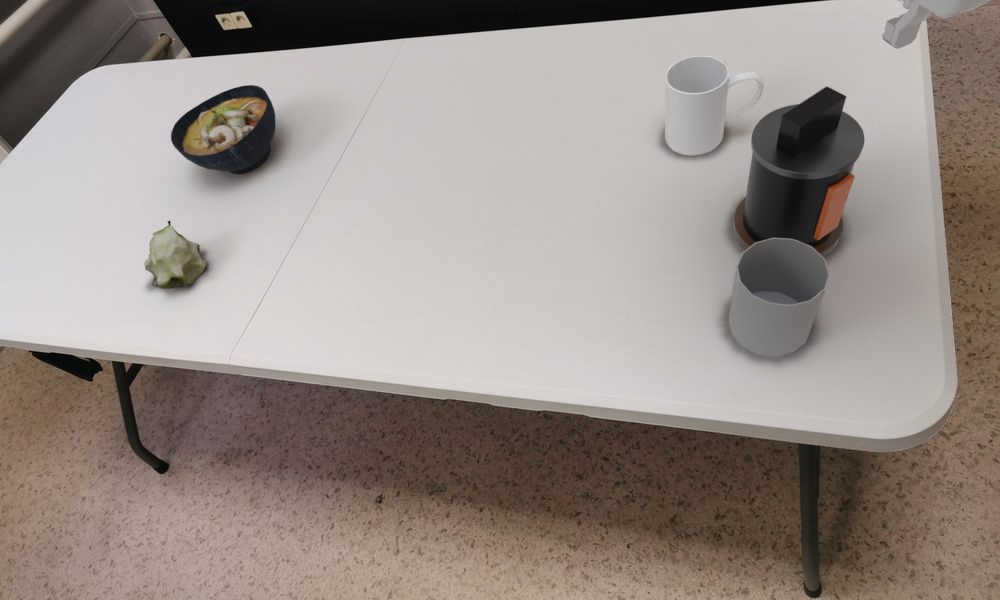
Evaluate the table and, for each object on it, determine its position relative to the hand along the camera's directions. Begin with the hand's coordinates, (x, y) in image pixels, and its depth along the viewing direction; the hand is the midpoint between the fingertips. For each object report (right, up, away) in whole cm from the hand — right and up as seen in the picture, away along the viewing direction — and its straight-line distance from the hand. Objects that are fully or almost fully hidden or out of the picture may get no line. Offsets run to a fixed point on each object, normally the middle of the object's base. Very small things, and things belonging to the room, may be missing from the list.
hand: (857, 14), depth 50 cm
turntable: (+6, -15, +25) cm, 29 cm away
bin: (+5, -14, +23) cm, 28 cm away
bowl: (-74, +2, +58) cm, 94 cm away
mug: (0, 0, +36) cm, 36 cm away
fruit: (-78, -19, +44) cm, 92 cm away
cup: (+1, -26, +18) cm, 32 cm away
